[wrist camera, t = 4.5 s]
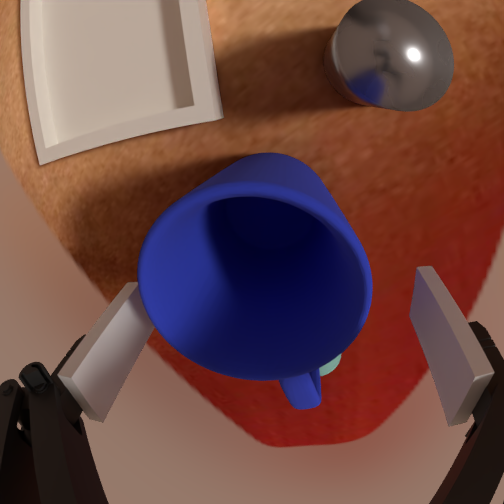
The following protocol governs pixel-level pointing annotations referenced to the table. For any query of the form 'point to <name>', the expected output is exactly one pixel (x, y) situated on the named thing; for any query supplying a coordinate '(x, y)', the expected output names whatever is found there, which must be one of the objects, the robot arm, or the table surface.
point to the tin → (389, 56)
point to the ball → (329, 366)
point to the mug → (257, 275)
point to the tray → (115, 70)
